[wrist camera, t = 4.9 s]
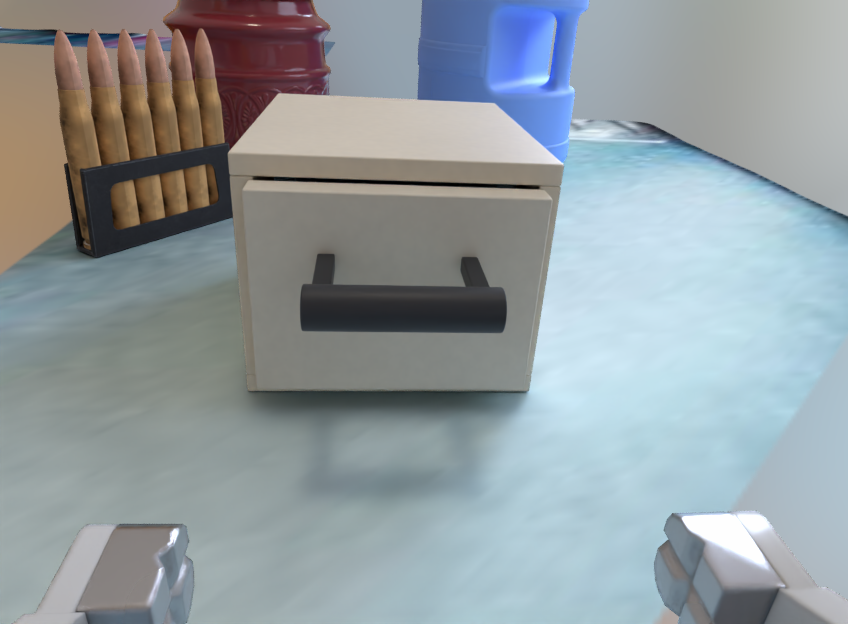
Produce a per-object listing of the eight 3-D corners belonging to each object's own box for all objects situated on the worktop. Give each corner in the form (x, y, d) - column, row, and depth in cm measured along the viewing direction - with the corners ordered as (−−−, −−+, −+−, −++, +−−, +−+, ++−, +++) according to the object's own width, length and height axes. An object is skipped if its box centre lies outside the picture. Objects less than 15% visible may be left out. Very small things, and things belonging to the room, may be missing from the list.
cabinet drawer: (552, 462, 21) (594, 244, 18) (235, 465, 20) (212, 235, 17) (475, 266, 36) (489, 127, 33) (291, 263, 35) (285, 119, 32)
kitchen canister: (359, 177, 55) (361, -55, 47) (214, 196, 48) (188, -74, 40) (291, 146, 64) (283, -53, 56) (160, 159, 57) (130, -68, 49)
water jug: (383, 156, 62) (392, -198, 50) (459, 134, 75) (481, -155, 62) (528, 186, 55) (581, -217, 43) (586, 156, 68) (640, -165, 55)
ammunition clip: (220, 209, 45) (203, 27, 40) (238, 215, 44) (223, 29, 39) (76, 250, 37) (30, 28, 32) (94, 258, 36) (51, 31, 31)
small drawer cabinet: (529, 391, 26) (564, 164, 22) (247, 391, 25) (227, 152, 21) (478, 266, 39) (495, 102, 34) (285, 262, 37) (277, 93, 33)
